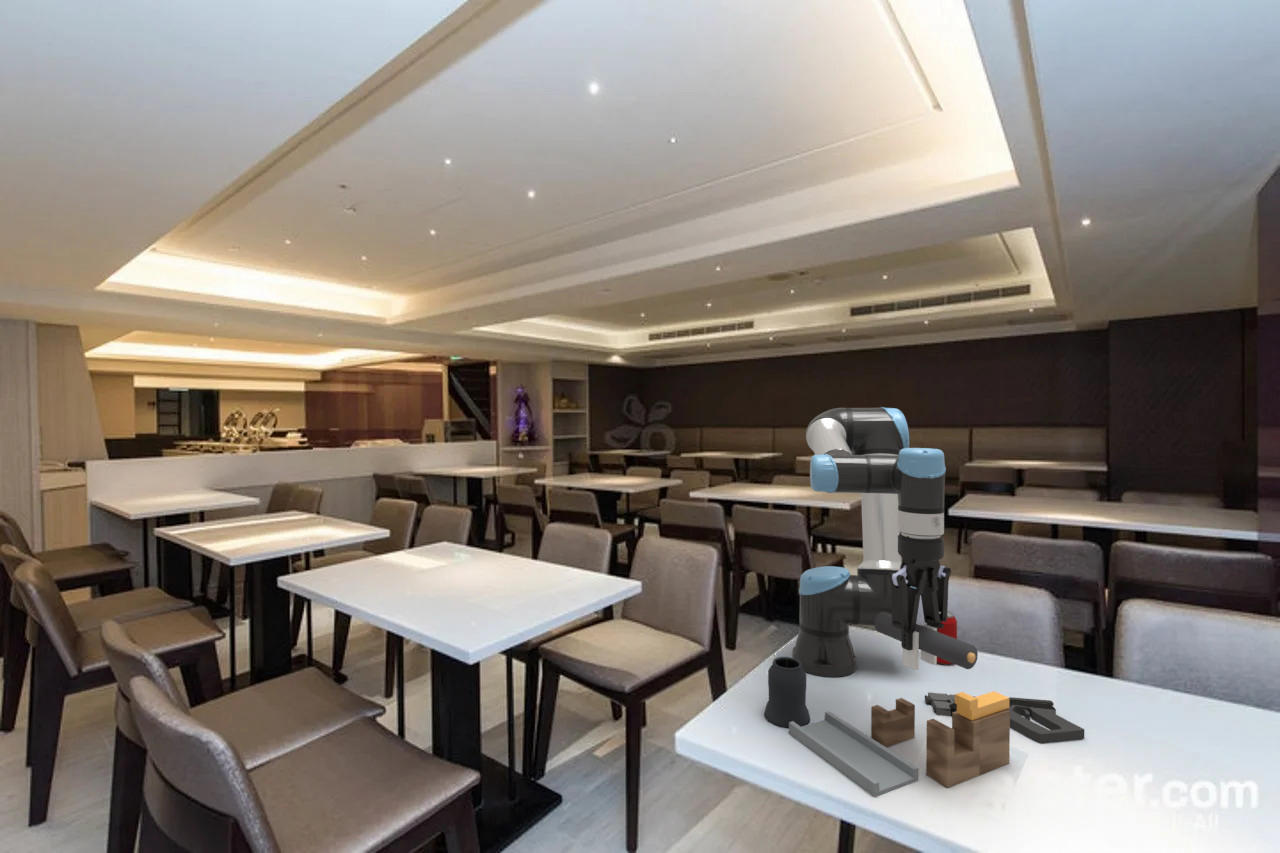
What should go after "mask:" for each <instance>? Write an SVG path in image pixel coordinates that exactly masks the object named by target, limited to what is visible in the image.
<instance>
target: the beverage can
mask: <svg viewBox="0 0 1280 853" xmlns="http://www.w3.org/2000/svg"><path fill="white" fill-rule="evenodd" d="M939 613H940V614H941V612H939ZM941 623H943V624H944V627H943V628H942V629H941V628H938V632H939V633H942V634H945V635H947V636H950V637H953V638H955V639H958V621H957V619H956V617H955V613H954V612H953V611H952V612H951V611H949V610H948V611H947V621H946V622H943V621H942V622H941ZM937 664H939V665H952V664H953V663H951V662H949V661H946V660H944V659H941V658H939V657H937Z"/></svg>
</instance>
